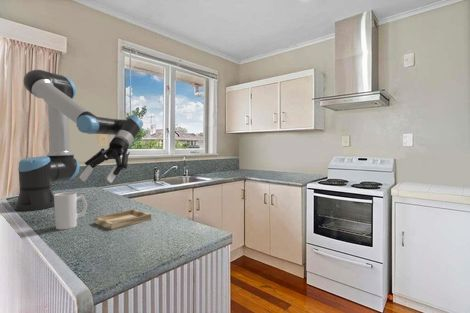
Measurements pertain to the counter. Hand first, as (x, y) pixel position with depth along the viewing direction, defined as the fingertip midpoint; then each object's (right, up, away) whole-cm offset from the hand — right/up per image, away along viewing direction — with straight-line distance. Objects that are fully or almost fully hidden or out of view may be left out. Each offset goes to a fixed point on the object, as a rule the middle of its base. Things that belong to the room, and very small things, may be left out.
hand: (94, 180), depth 103 cm
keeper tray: (+13, -15, -4) cm, 21 cm away
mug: (-3, -16, -9) cm, 19 cm away
